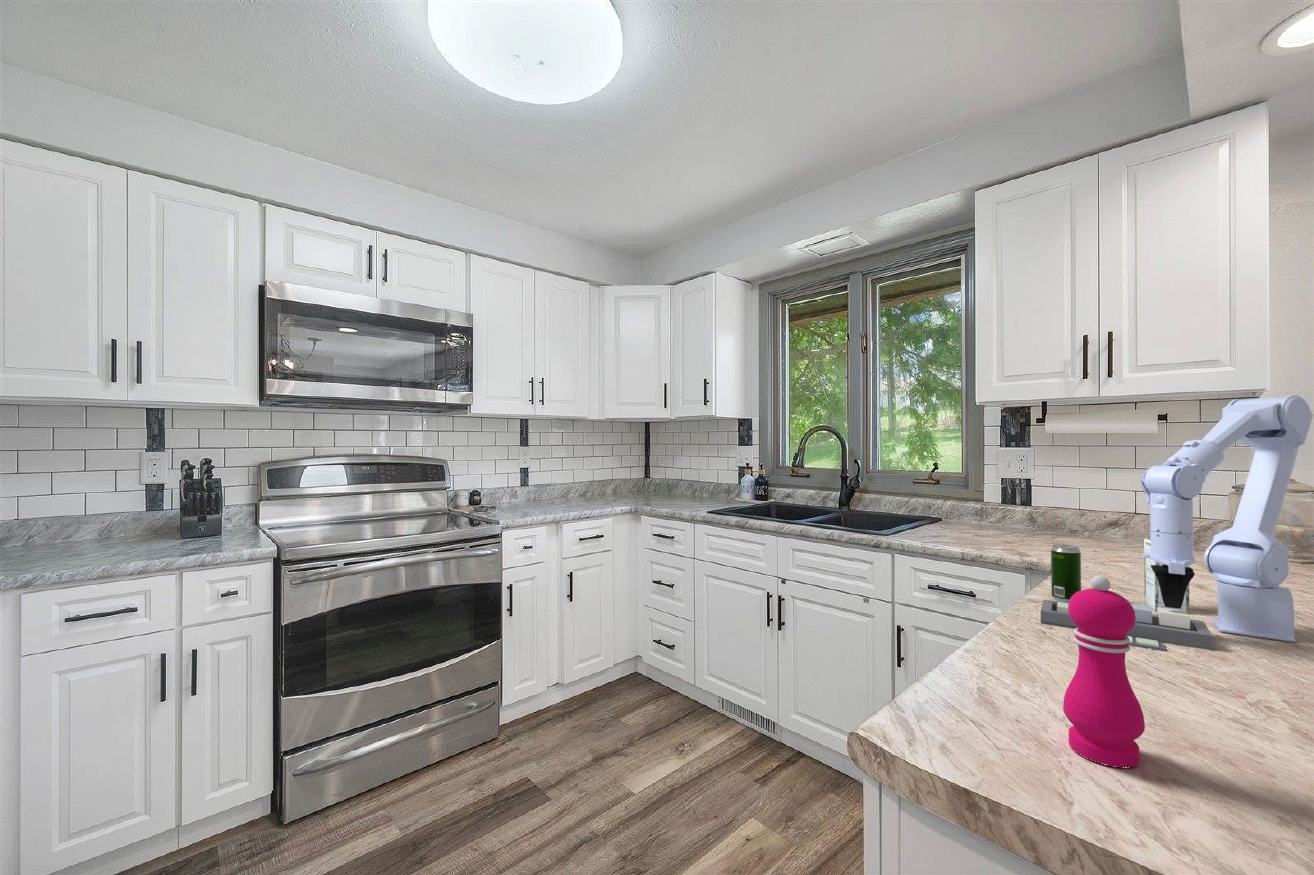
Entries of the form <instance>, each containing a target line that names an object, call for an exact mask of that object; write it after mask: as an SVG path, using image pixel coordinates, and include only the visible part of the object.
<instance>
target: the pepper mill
mask: <svg viewBox="0 0 1314 875" xmlns="http://www.w3.org/2000/svg"><path fill="white" fill-rule="evenodd" d="M1090 586H1091V588H1086V589H1084V588H1083V589H1081V591H1078V592H1076V593H1075V594H1074V595H1073V596H1072V597H1071V598H1070V601H1069V604H1068V614H1069V617H1070V618H1071V620H1072V621H1073V622H1074V623H1075V624H1076V626H1077V627H1078V628H1073V633H1074V637H1073V641H1074V642H1075V643H1076V644H1077V646H1078V663H1077V667H1076V671H1075V673H1074V675H1073V677H1072V678H1071V681H1070V683H1068V686H1067V688H1066V689H1065V694H1064V696H1063V703H1062V704H1063V705H1062V711H1063V713H1064V715H1065V717H1066V718H1067V720H1068V721H1069V722H1070V723H1071V724H1072V726H1070V727H1069V728H1068V745H1069V747H1070V746H1071V747H1070V749H1071V748H1072V749H1073V750H1075V751H1076V752H1077V753H1078V754H1081V755H1082V756H1084V757H1086V758H1088V759H1091V760H1093V761H1096V762H1099V763H1103V764H1107V765H1109V766H1116V767H1122V768H1121V769H1129V768H1128V767H1133V768H1135V767H1134V766H1136V765H1137V766H1138V765H1140V762H1141V760H1140V758H1141V757H1140V747H1139V744H1138V742H1136V740H1137V739H1138V738H1140V737H1141V736H1142V735H1143V734H1144V732H1145V729H1146V725H1145V716H1144V712H1143V710H1142V706H1141V704H1140V702H1139V700H1138V698H1137V696H1136V694H1135V692H1134V691H1133V688H1132V685H1131V684H1130V680H1129V676H1128V673H1127V669H1126V653H1128V652H1130V650H1131V647H1130V646H1131V645H1129V642H1130V639H1129V637H1128V636H1126V634H1127V633H1128V632H1129V631H1130V630H1132V628H1133V627H1134V625H1135V620H1136V617H1135V611H1134V609H1133V607H1132V605H1131V604H1132V603H1130V602H1129V600H1128V599H1126V598H1125V597H1124V596H1122V595H1121V594H1119V593H1117V592H1114V591H1111V590H1109V589H1110V588H1111V582H1110V581H1109V579H1108V578H1107V577H1105V576H1102V575H1096V576H1093V577H1092V578H1091V579H1090ZM1072 749H1071V750H1072ZM1073 750H1072V751H1073ZM1076 752H1075V753H1076ZM1077 753H1076V754H1077ZM1078 754H1077V755H1078ZM1082 756H1081V757H1082ZM1084 757H1083V758H1084ZM1086 758H1085V759H1086ZM1088 759H1087V760H1088ZM1109 766H1108V767H1109ZM1137 766H1136V767H1137ZM1123 767H1124V768H1123ZM1125 767H1127V768H1125Z"/></svg>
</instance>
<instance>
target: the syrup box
mask: <svg viewBox="0 0 1314 875" xmlns="http://www.w3.org/2000/svg"><path fill="white" fill-rule="evenodd" d="M1143 553H1151V538H1144V540H1143ZM1143 559H1144V560H1143V562H1144V563H1143V564H1144V569H1143V570H1144V575H1143V576H1144V604H1145V606H1150V608H1151V610H1154V611H1157V607H1159V608H1167V609H1174V610H1182V611H1187V613H1188V614H1190V583H1189V584H1188V586H1187V589H1186V592H1185V596H1184V600H1183V604H1182V607H1181V609H1177V608H1170V607H1165V605H1164V602H1163V599H1162V595H1161V590H1160V586H1159V583H1158V580H1157V577H1156V575H1155V573H1154V571H1153V570H1152V568H1151V565H1159V566H1162V565H1164V564H1163V563H1160V562H1157V561H1155V560H1152V559H1149V558H1143ZM1185 567H1190V565H1188V566H1185Z"/></svg>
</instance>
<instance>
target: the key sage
mask: <svg viewBox="0 0 1314 875" xmlns="http://www.w3.org/2000/svg"><path fill="white" fill-rule="evenodd" d="M1068 604H1069V603H1068V602H1066V603H1063V602H1061V601H1059V602H1058V603H1057V611H1059V612H1066V613H1068Z"/></svg>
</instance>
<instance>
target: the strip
mask: <svg viewBox="0 0 1314 875" xmlns="http://www.w3.org/2000/svg"><path fill="white" fill-rule="evenodd" d="M1128 637H1129V639H1130V642H1129V646H1132V647H1136V648H1144V649H1149V648H1150V649H1149V650H1156V651H1161V652H1165V651H1166V650H1165V649H1166V648H1165V645H1164V643H1163V642H1158V641H1156V640H1149V639H1143V638H1137V637H1136V638H1132V637H1130V636H1128Z"/></svg>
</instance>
